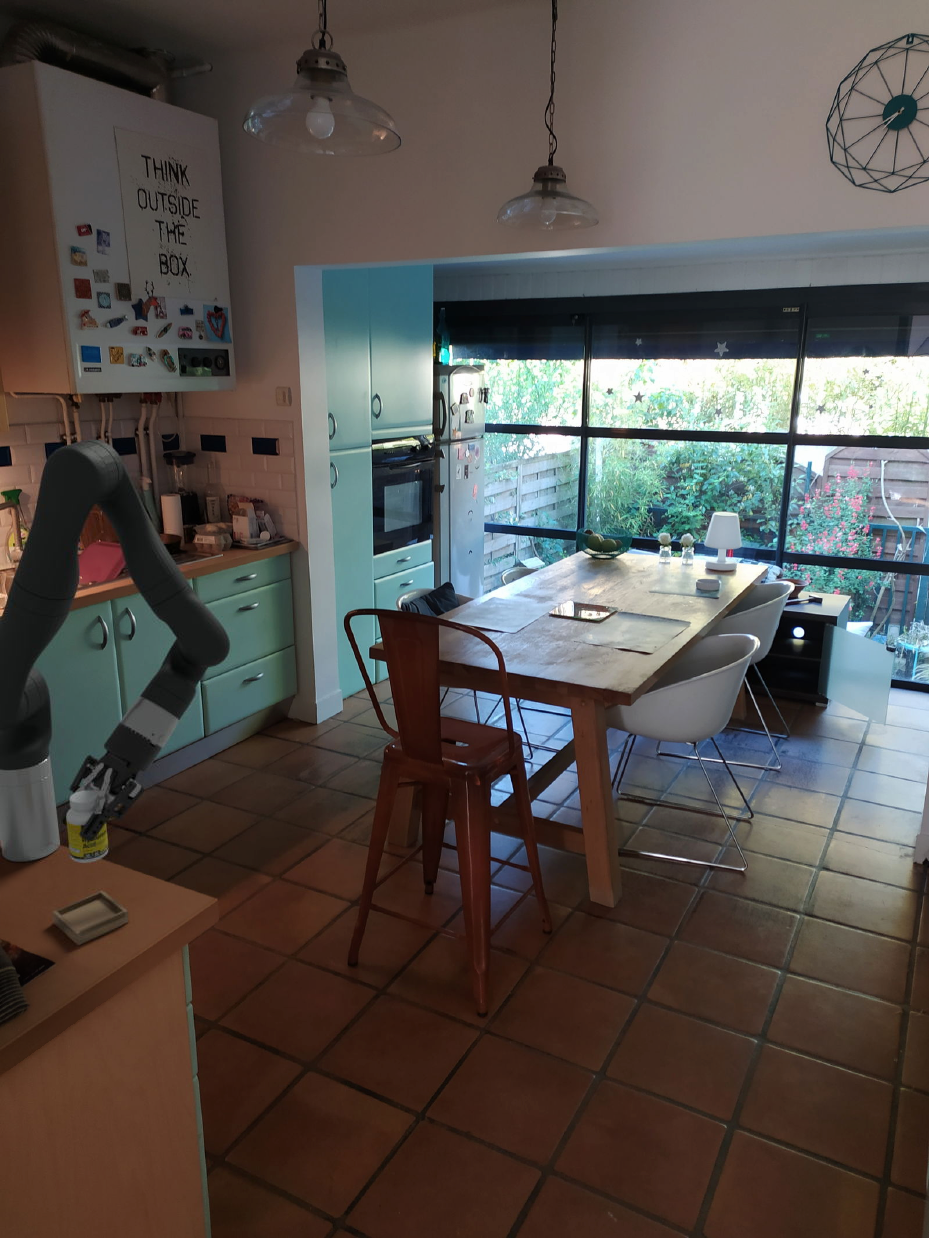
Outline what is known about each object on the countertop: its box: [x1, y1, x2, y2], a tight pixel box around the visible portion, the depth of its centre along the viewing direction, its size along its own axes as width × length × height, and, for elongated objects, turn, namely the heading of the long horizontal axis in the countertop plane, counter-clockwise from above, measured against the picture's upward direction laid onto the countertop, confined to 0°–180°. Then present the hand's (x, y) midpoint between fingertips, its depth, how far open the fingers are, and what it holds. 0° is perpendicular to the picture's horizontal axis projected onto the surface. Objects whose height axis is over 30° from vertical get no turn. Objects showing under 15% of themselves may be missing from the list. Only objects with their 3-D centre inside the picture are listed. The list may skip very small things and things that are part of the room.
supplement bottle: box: [66, 790, 109, 864], centre depth 137 cm, size 5×5×10 cm
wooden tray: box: [52, 890, 130, 946], centre depth 140 cm, size 8×8×2 cm
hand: (75, 831), depth 135 cm, fingers closed on supplement bottle, 5 cm apart
